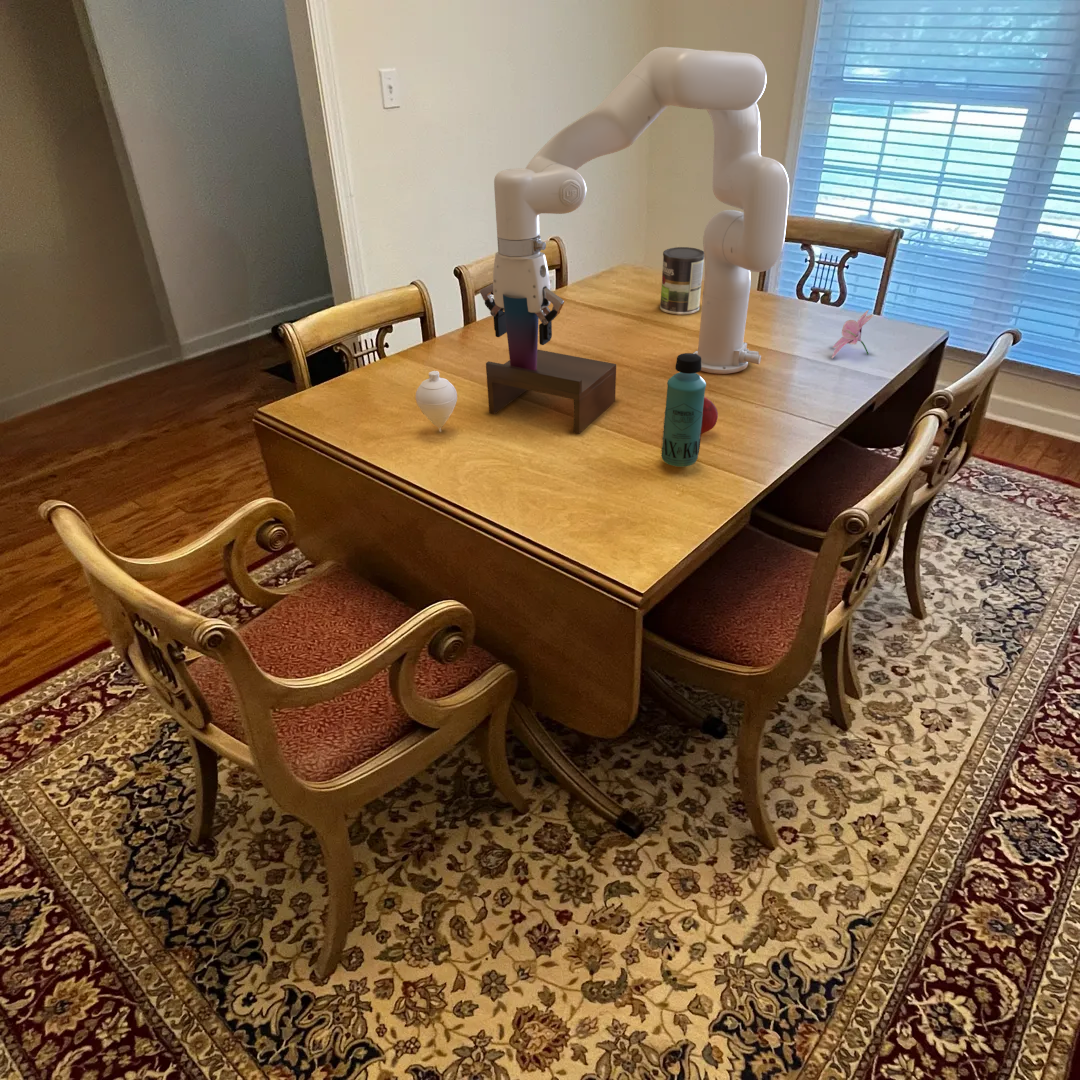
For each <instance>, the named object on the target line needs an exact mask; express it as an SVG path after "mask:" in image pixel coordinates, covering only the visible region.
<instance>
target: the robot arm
mask: <svg viewBox="0 0 1080 1080" xmlns="http://www.w3.org/2000/svg"><path fill="white" fill-rule="evenodd" d="M767 80H768V79H767V71H766V67H765V65H764V63H763V62H762V60H761V59H760V58H759V57H758V56H756V55H755V54H753V53H749V52H739V51H727V50H718V49H717V50H715V49H713V50H703V49H696V48H687V47H675V46H674V47H673V46H660V47H656V48H655V49H652V50H651V51H649V52H648V53H647V54H646V55H645V56H643V57H642V59H640V61H639V62H638V63H637V64H636V65H635V66H634V67H633V68H632V69H631V70H630V71H629V72H628V74H627V75H626V76H625V77H624V78H623V79H622V80H621V81H620V82H619V83H618V84H617V85H616V86H615V87H614V88H613V90H612V91H610V93H609V94H608V95H606V97H605V98H604V99H603V100H602V101H601V102H600V103H599V104H598V105H597V106H596V107H594V108H592V110H590V111H588V112H586V113H585V114H582V116H580V117H579V118H577V119H576V120H575V121H573V122H571V123H570V124H568V125H566V126H565V127H563V128H562V129H561V130H559V131H558V132H557V133H556V134H554V135H553V136H552V137H551V138H550V139H549V140H547V142H546V143H545V144H544V145H543V146H542V147H541V148H540V150H538V152H537V153H536V154H534V156H533V157H532V158H531V159H530V160H529V162H528V164H527V165H526V167H525V168H519V167H518V168H517V167H516V168H507V169H502V170H500V171H498V172H497V173H496V174H495V175H494V180H493V187H494V188H493V189H494V203H495V204H494V205H495V221H496V239H497V252H495V255H494V262H493V272H492V273H493V274H492V275H493V276H492V283H491V284H489V285H487V286H485V287H483V288H482V289H480V290H479V294H480V295H481V298H482V300H483V301H484V305H485V306H486V308H487V309H488V310H489V313H490V315H491V317H493V330H494V335H495V337H496V338H500V337H502V336H503V335H506V334H507V330H506V321H505V312H504V302H503V294H504V295H505V296H507V297H511V298H527V306H528V312H530V313H535V314H536V315H537V316H538V318H539V319H538V320H539V321H540V322H541V323H540V324H538V342H539V345H540V346H545V345H546V344H548V343H549V342H551V339H552V336H553V329H552V328H553V325H552V323H553V322H552V321H554V320H555V319H556V317H558V315H559V314H560V313H561V310H562V309H563V306H564V304H565V300H564V299H563V298H562V297H561V296H558V294H556V293H555V292H553V291H552V290H551V282H550V281H551V280H550V273H549V272H550V271H549V268H548V262H547V258H546V255H545V252H542V251H545V250H546V247H547V243H546V241H542V239H541V233H540V232H541V231H540V214H551V215H553V214H554V215H564V214H569V213H572V212H574V211H577V209H578V208H579V207H580V206H582V204H583V202H584V201H585V199H586V196H587V185H586V180H585V179H584V177H583V176H582V175H581V173H580V172H578V171H577V170H578V169H579V168H581V167H582V166H584V165H585V164H587V163H588V162H591V161H592V160H594V159H597V158H600V157H603V156H607V155H610V154H615V153H617V152H620V151H622V150H625V149H627V148H629V147H630V146H631V145H632V144H634V143H635V142H636V140H638V138H640V136H641V135H642V134H643V133H644V132H645V131H646V129H648V128H649V127H650V126H651V125H652V123H653V122H655V120H657V118H658V117H660V115H661V114H662V113H664V111H665V110H666V109H667V108H668V107H670V106H672V107H678V108H683V109H684V108H685V109H694V110H695V109H696V110H706V111H707V113H708V116H709V117H710V120H711V123H712V130H713V153H712V155H713V156H712V158H713V159H712V191H713V195H714V197H715V199H717V200H718V201H719V202H721V203H723V204H725V205H728V206H731V207H734V208H736V209H740V210H742V211H740V210H735V209H725V210H721V211H719V212H717V213H715V214H713V216H711V218H709V220H708V221H707V223H706V225H705V227H704V231H703V236H702V245H703V251H704V276H703V277H704V279H703V289H702V290H703V291H702V300H701V301H702V302H701V311H700V312H701V313H700V321H699V333H698V343H697V344H698V345H697V350H695V351H694V352H692V353H693V354H697V355H699V356H700V357H701V365H702V367H701V371H700V372H705V373H709V374H719V375H728V374H734V373H738V372H741V371H743V370H745V369H746V368H747V367H748V366H749V363H750V364H754V365H755V364H756V365H760V364H761V361H762V355H761V354H760V351H756V350H750V349H749V348H747V347H748V342H744V341H745V333H746V331H745V330H746V326H747V325H746V324H747V316H748V308H749V303H750V302H749V301H750V294H751V285H752V282H751V281H752V280H751V277H752V276H751V272H752V273H753V272H754V273H763V272H767V271H769V270H771V269H772V268H773V267H774V266H775V265H776V264H777V262H778V261H779V259H780V257H781V255H782V252H783V249H784V246H785V240H786V239H785V238H786V231H787V220H788V210H789V209H788V208H789V199H790V197H789V196H790V182H789V181H790V180H789V177H788V173H787V171H786V169H785V167H784V165H783V164H782V163H780V162H779V161H778V160H776V159H774V158H771V157H767V156H763V155H761V115H760V110H759V106H758V103H757V102H758V101H759V100H760V99H761V97H762V95H763V94H764V92H765V89H766V85H767ZM492 293H493V296H492ZM551 304H552V308H551V309H550V308H549V306H550V305H551Z"/></svg>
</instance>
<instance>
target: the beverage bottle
mask: <svg viewBox="0 0 1080 1080" xmlns="http://www.w3.org/2000/svg"><path fill="white" fill-rule="evenodd" d="M693 353H694V352H687V353H686V352H685V353H680V354H679V355H677V356H676V362H675V368H674V369H675V370H676V371H677V372H676V373H675V374H673V375H671V377H670V378H668V379H667V382H666V384H667V386H666V387H667V389H666V397H665V409H664V417H663V421H662V422H663V429H662V434H661V435H662V437H661V440H662V442H661V449H660V454H661V459H662V461H663V462H664V463H665V464H667V465H669V466H673V467H679V468H680V467H681V468H683V467H689V466H692V465H694V464H695V463H696V462H697V460H698V458H699V455H700V449H701V448H700V447H701V441H702V439H701V438H702V434H701V431H702V430H701V429H702V428H701V425H702V424H703V423H702V416H704V415H703V405H704V395H705V393H706V387H707V382H706V381H705V379H704V378H703V377H702V376H701V375H700V374H698V373H700V372H702V371H701V367H702V365H701V357H700V356H699V355H697V354H693ZM700 434H701V435H700Z"/></svg>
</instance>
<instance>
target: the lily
mask: <svg viewBox="0 0 1080 1080" xmlns="http://www.w3.org/2000/svg"><path fill="white" fill-rule="evenodd" d="M869 310H870V309H867V310H865V312H864V313H863V314H862V315H861V316H860V317H858V319H857V321H856V320H855V319H848V320H846V321H845V322H844V324H843V326H842V327H841V328H842V329H841V336H842V337H840V338H839V339H838V340H837V341H836V342H835V343H834V344H833V345H832V347H831V349H834V350H833V352H832V355H831V359H833V358H835V356H836V355H837V354H838V353H839V352H840V351H841V350H842V349H843V348H844V347H845V346H846V345H857V344H858V342H860V343H861V344H862V346H863V347H864V350H865V352H866V354H867V355H869V351H868V349H867V346H866V345H865V343H864V341H863V340H862V330H863V327H864V325H866V324H867V323H868V322H869V321H870V320H871V319H872V318H874V314H869V315H868V312H869Z"/></svg>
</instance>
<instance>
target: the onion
mask: <svg viewBox="0 0 1080 1080" xmlns="http://www.w3.org/2000/svg"><path fill="white" fill-rule="evenodd" d="M703 415H704V416H702V423H703V424H702V425H701V428H702V429H701V430H702V431H701V434H700V436H702V435H703V434H706V433H707V432H709V431H711V430H713V429H714V427H715V426H716V424H717V422H718V418H719V412H718V409H717V407H716V405H715V404H714V403H713V402H712V400H710V399H709V398H708V397H706V396H705V395H704V405H703Z"/></svg>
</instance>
